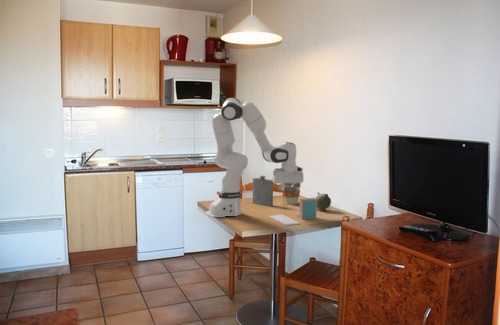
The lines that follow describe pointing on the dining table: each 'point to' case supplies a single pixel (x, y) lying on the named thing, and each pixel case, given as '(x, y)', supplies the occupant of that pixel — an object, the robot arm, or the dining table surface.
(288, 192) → the push stick
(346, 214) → the dining table surface
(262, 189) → the hip flask
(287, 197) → the reusable coffee cup
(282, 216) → the tool mat
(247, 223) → the dining table surface
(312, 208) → the tile
